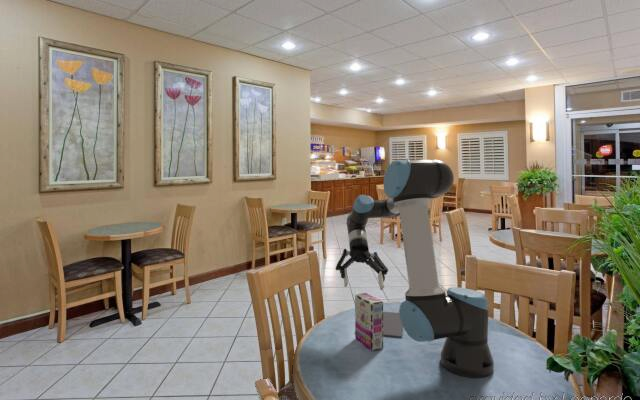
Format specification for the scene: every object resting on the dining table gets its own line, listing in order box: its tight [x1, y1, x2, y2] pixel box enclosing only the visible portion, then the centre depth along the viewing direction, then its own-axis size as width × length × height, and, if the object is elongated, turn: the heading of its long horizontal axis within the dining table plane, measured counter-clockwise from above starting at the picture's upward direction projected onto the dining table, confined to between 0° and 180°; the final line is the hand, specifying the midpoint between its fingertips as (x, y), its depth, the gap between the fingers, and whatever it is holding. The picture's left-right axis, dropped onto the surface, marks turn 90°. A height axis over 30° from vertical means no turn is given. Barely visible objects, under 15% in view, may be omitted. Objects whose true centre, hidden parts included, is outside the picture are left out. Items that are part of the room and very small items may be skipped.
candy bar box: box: [354, 292, 384, 352], centre depth 126 cm, size 11×5×16 cm, turn 25°
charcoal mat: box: [383, 311, 404, 339], centre depth 143 cm, size 17×22×1 cm
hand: (364, 286), depth 132 cm, fingers open, 13 cm apart
